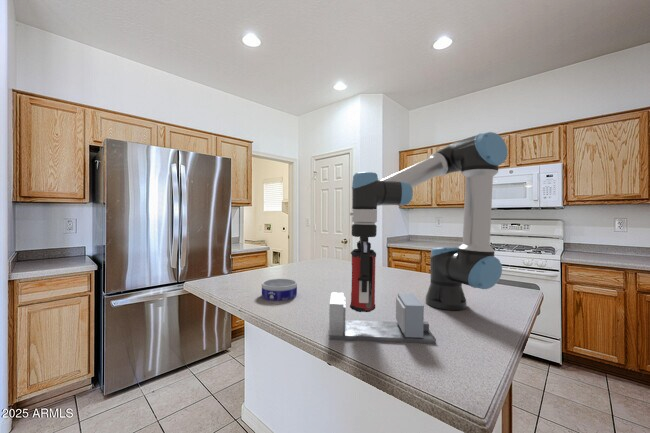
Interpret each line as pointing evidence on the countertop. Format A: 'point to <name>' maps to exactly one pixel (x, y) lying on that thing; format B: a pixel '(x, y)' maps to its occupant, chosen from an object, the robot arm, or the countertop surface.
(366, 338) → the vise bed
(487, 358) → the countertop surface
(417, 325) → the slide jaw
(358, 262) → the speaker
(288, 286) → the dog bowl
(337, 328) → the fixed jaw
